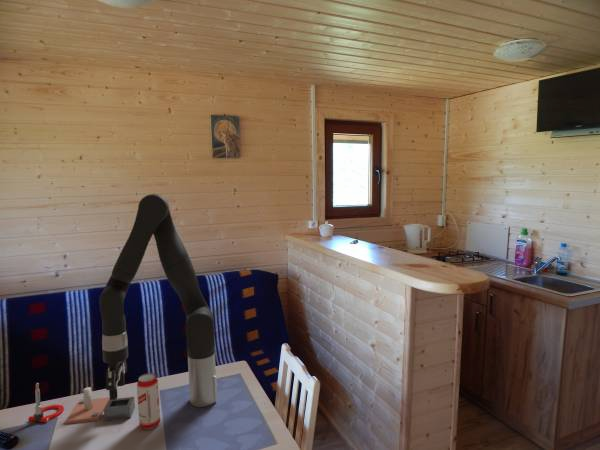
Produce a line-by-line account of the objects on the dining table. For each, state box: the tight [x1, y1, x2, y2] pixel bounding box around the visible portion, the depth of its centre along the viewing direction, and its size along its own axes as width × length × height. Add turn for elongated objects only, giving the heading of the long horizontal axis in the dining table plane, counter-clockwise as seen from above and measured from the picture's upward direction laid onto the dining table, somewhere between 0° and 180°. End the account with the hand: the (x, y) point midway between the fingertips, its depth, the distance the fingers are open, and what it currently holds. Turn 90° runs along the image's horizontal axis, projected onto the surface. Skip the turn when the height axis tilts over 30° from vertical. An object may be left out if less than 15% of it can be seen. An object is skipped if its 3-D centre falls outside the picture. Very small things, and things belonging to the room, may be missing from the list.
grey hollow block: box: [103, 396, 136, 422], centre depth 129 cm, size 8×6×4 cm
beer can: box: [136, 373, 161, 430], centre depth 123 cm, size 6×6×16 cm
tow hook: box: [28, 382, 65, 423], centre depth 129 cm, size 8×13×9 cm
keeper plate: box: [65, 386, 110, 425], centre depth 131 cm, size 10×12×8 cm
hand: (117, 392), depth 128 cm, fingers open, 8 cm apart
